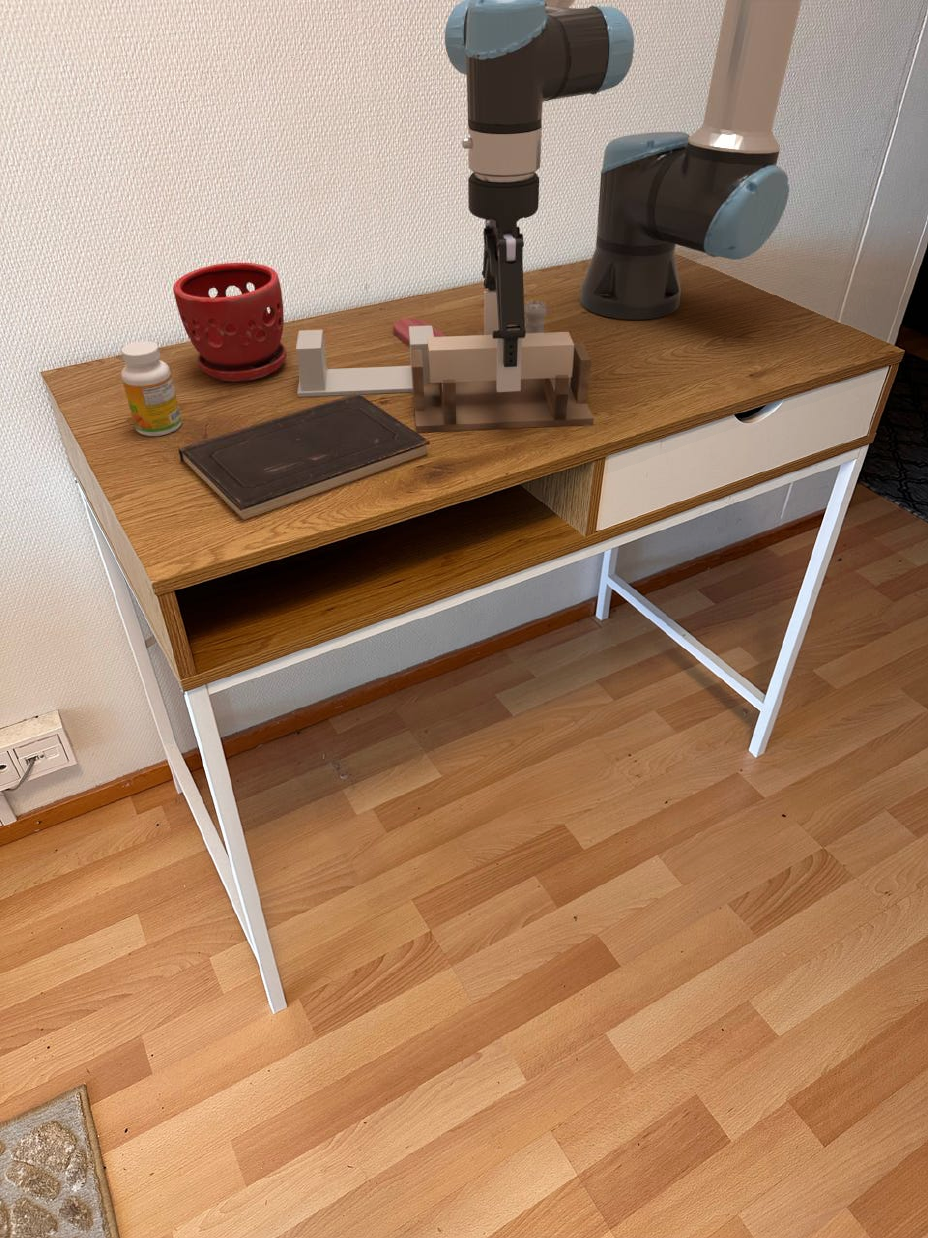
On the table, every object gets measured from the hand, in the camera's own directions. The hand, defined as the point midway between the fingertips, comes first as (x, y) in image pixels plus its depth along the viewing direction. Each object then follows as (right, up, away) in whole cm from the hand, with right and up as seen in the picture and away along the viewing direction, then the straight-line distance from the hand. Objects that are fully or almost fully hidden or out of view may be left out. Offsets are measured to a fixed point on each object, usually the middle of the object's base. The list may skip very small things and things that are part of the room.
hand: (501, 365), depth 106 cm
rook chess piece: (+5, +4, +13) cm, 14 cm away
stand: (-17, 0, +8) cm, 19 cm away
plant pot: (-34, +3, +12) cm, 36 cm away
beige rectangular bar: (0, -1, 0) cm, 1 cm away
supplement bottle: (-41, -8, -1) cm, 42 cm away
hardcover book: (-22, -13, -7) cm, 27 cm away
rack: (0, -4, +3) cm, 5 cm away
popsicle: (-10, +8, +18) cm, 22 cm away
